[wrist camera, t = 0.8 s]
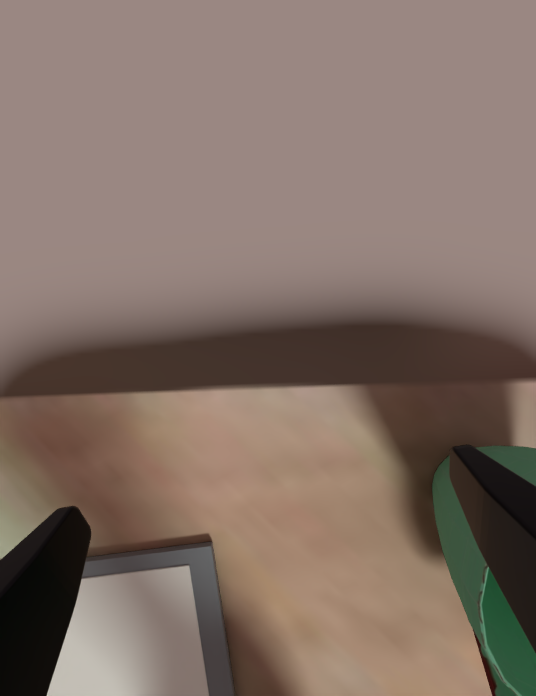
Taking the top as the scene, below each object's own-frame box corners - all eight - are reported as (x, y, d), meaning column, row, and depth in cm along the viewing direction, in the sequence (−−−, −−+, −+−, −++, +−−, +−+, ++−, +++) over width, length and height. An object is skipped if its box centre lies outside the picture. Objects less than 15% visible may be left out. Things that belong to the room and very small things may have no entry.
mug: (392, 407, 23) (482, 470, 13) (554, 407, 23) (769, 469, 13) (389, 637, 24) (471, 857, 14) (546, 637, 24) (740, 859, 14)
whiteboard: (243, 749, 25) (241, 777, 23) (-29, 781, 25) (-49, 810, 24) (212, 541, 24) (208, 556, 22) (-69, 576, 24) (-92, 593, 23)
